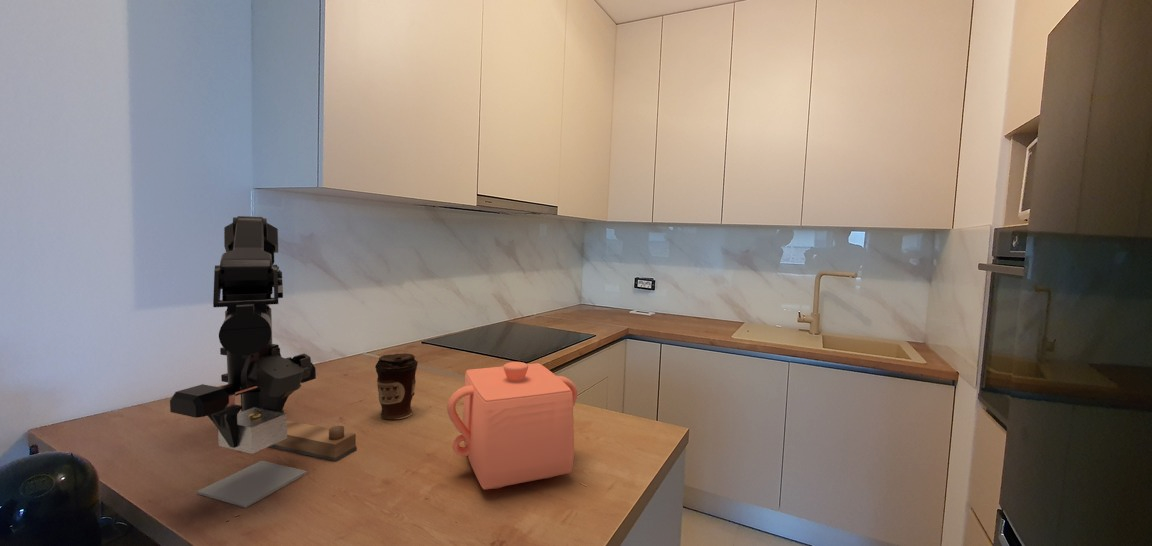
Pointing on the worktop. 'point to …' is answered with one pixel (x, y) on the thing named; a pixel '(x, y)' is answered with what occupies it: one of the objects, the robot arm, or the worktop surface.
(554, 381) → the teapot
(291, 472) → the felt pad
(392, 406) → the coffee cup
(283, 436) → the grey jewelry box
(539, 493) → the worktop surface
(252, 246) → the robot arm
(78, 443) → the worktop surface
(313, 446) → the plane body
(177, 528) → the worktop surface
